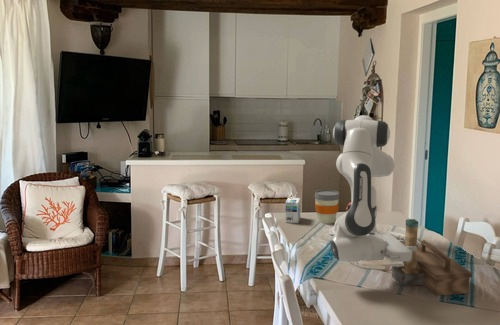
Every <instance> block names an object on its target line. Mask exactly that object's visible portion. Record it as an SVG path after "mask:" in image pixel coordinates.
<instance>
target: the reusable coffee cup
mask: <svg viewBox="0 0 500 325" xmlns="http://www.w3.org/2000/svg"><path fill="white" fill-rule="evenodd" d="M314 199H315V202H314V207H315V212H316V218H317V222H318V223H321V224H329V225H330V224H335V221H336V219H337V213H338V212H339V206H340V203H339V200H340V192H339V191H337V190H333V189H317V190H316V191H315V192H314Z"/></svg>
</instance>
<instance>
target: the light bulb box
mask: <svg viewBox="0 0 500 325" xmlns="http://www.w3.org/2000/svg"><path fill="white" fill-rule="evenodd" d="M300 220H301V197H290V196H289V197H287V199H286V201H285V223H286V224H287V223H288V224H289V223H290V224H299V222H300Z"/></svg>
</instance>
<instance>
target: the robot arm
mask: <svg viewBox="0 0 500 325" xmlns="http://www.w3.org/2000/svg"><path fill="white" fill-rule="evenodd" d="M332 136H333V140H334V142H335V144H336V145H338V146H341V147H342V148H343V149H342V153H340V154H339V155H338V157H337V159H336V163H335V167H336V169H337V171H338V172H339V173H340V174H341V175H342V176H343V177H344V178H345V179H346V181H347V182H348V185H349V187H350V194H351V196H350V197H351V198H350V200H351V202H349V203H348V204H347V206H346V209H345V210H346V211H345V212H344V213H342V214H340V216H338V217H336V220H335V222H334V223H333V224H334V226H331V228H330V229H329V230H328V234H329V235H331V236H333V238H332V239H331V241H330V250H331V253H332V256H333V257H334V258H335V260H337V261H339V262H345V263H346V262H347V263H350V262H355V263H356V262H360V261H369V262H370V261H371V262H372V261H383V260H384V259H385V258H386V259H388V260H389V261H392V262H402V263H403V262H408V261H411V260H412V251H416V250H417V247H418V246H417V247H416V246H415V245H410V246H409V247H408V246H405V240H402V239H398V238H396V236H394V235H392V234H391V233H389V232H378V229H377V220H376V219H377V214H378V213H377V212H378V210H377V208H378V207H377V204H376V203H377V190H376V188H375V187H374V186H373V185H372V178H383V177H384V178H385V177H389V176H391V174H392V173H394V172H393V171H394V169H395V161H394V159H393V157H392V156H391V155H390V154H388V153H386V152H384V151H382V150H381V148H383V147H386V145H387V144H388V142H389V140H390V136H391V130H390V127H389V124H388V123H387V122H386V121H383V120H374V118H372V117H371V116H369V115H363V114H362V115H358V116H356V117H355V118H354V119H347V120H346V119H342V120H341V119H340V120H337V122H336V123H335V125H334V127H333V129H332Z"/></svg>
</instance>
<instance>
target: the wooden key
mask: <svg viewBox="0 0 500 325" xmlns="http://www.w3.org/2000/svg"><path fill="white" fill-rule="evenodd" d="M418 229H419V221H418V220H417V219H415V218H414V219H413V218H412V219H410V218H409V219H405V234H404V235H405V237H404V239H405V240H404V241H405V246H408V247H409V246H410V245H415V246H416V247H418V244H417V243H418V232H419V231H418ZM415 264H416V251H412V260H411V261H408V262H404V269H401V272H402V273H403V274H412V273H418V272H416V271H415Z"/></svg>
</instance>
